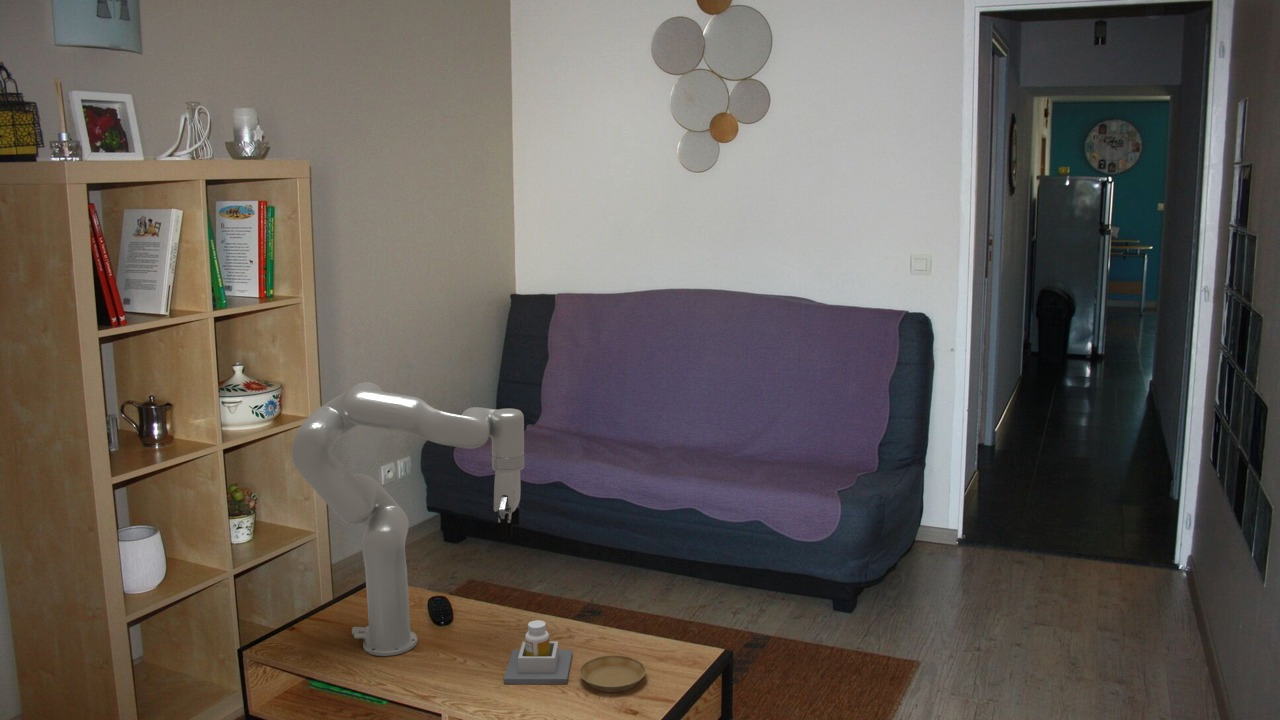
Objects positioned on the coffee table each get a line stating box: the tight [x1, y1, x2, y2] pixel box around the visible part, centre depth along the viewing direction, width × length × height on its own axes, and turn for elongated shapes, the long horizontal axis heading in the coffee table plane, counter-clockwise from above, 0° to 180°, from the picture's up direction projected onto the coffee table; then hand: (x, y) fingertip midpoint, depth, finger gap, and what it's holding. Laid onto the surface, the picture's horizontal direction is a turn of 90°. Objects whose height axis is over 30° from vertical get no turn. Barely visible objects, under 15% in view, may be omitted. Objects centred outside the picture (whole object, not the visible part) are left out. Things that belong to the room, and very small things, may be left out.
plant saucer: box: [578, 654, 647, 693], centre depth 228 cm, size 15×15×3 cm
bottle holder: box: [503, 640, 573, 685], centre depth 233 cm, size 14×14×5 cm
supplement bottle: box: [524, 619, 550, 656], centre depth 232 cm, size 5×5×10 cm
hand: (509, 531), depth 244 cm, fingers open, 9 cm apart
